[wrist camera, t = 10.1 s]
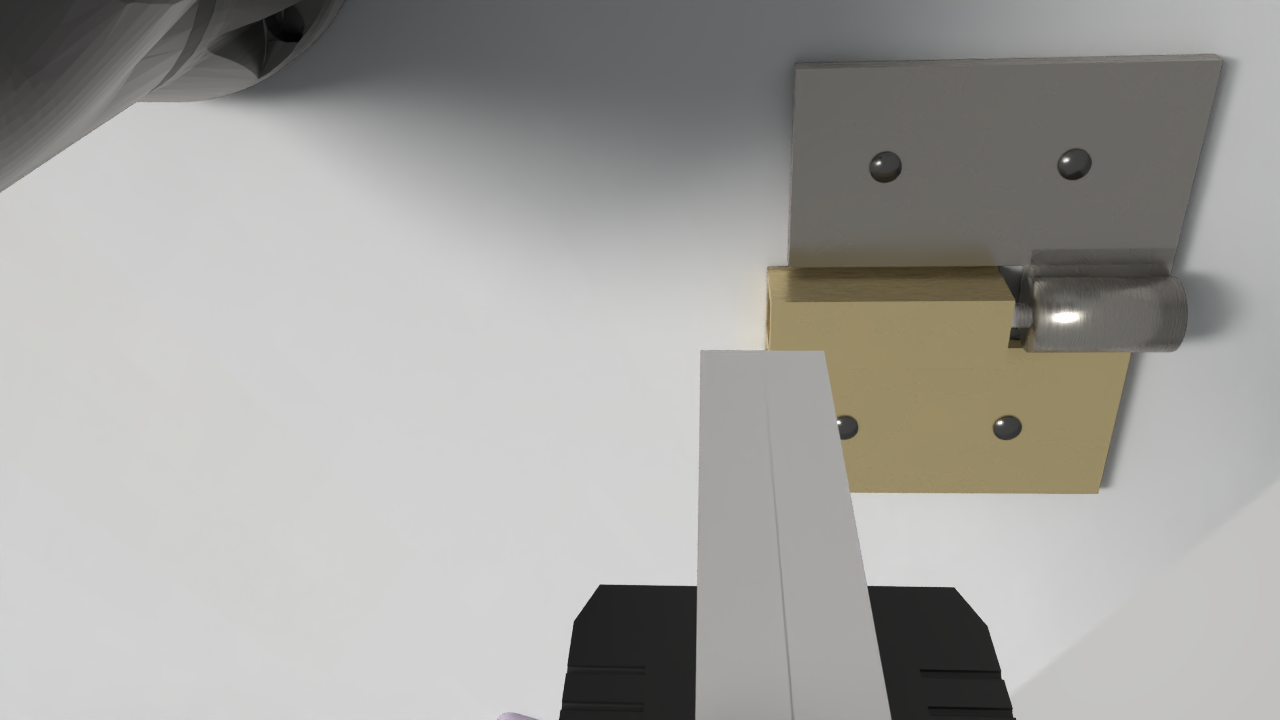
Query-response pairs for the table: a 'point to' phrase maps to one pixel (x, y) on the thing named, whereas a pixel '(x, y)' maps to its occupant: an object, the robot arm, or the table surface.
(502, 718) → the smartphone
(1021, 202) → the gunmetal leaf
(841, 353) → the brass leaf
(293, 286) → the table surface
